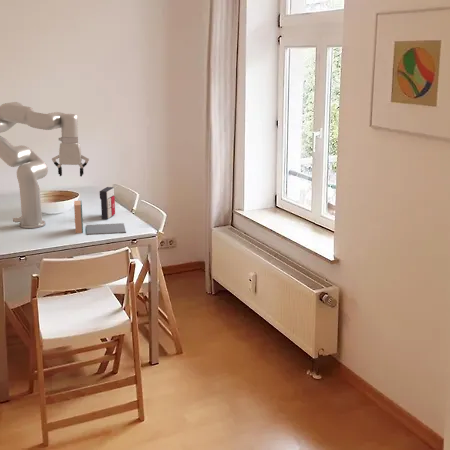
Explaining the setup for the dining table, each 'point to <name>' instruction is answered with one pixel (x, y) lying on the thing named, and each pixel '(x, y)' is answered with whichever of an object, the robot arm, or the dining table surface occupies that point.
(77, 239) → the dining table surface
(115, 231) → the mat
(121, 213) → the dining table surface
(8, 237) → the dining table surface
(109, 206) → the grey red upright box
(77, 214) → the sponge
